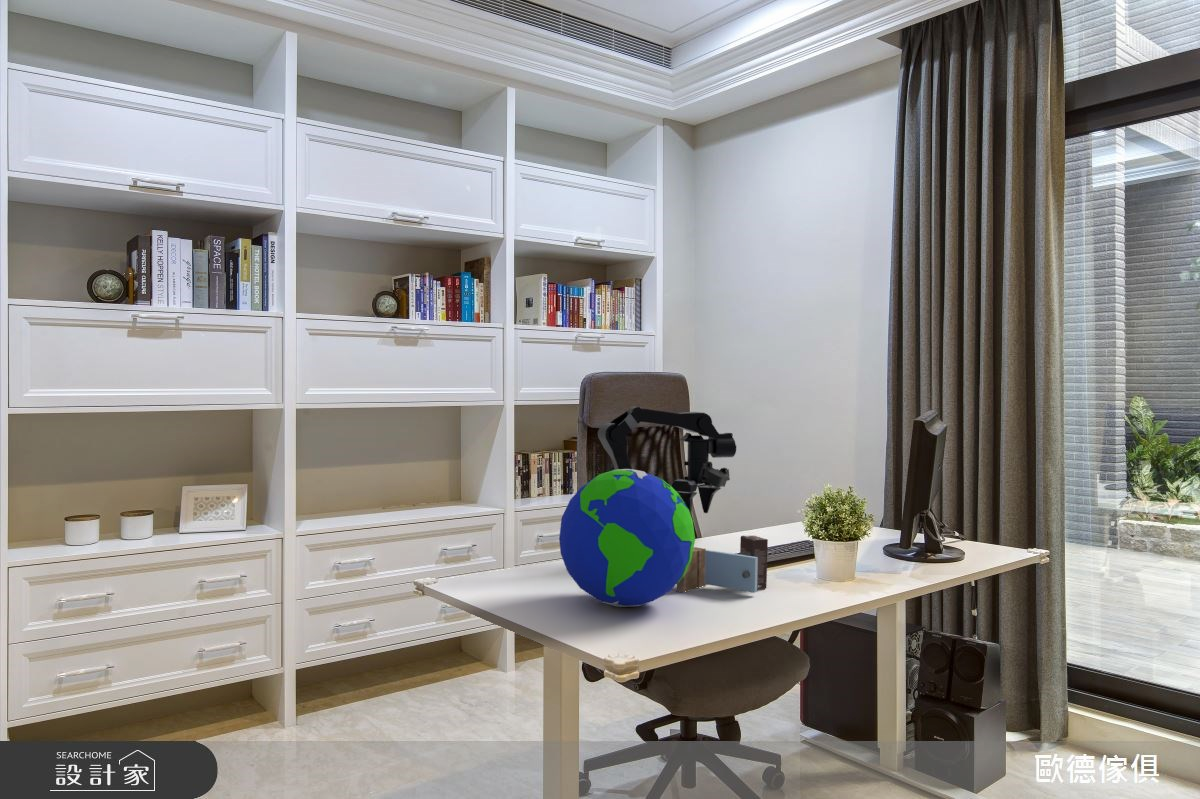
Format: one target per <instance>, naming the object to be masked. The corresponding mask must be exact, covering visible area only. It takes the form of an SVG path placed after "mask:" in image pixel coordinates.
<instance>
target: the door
mask: <svg viewBox="0 0 1200 799" xmlns="http://www.w3.org/2000/svg"><path fill="white" fill-rule="evenodd" d="M757 569H758V557H753V556H746V555H740V553H738V554H737V553H732V552H731V553H730V552H724V551H717V550H711V549H706V551H705V584H707V585H706V586H708V585H709V586H715V587H719V588H726V589H732V590H736V591H737V590H738V591H743V592H750V593H753V594H754V593H757V592H758V590H757Z"/></svg>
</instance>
